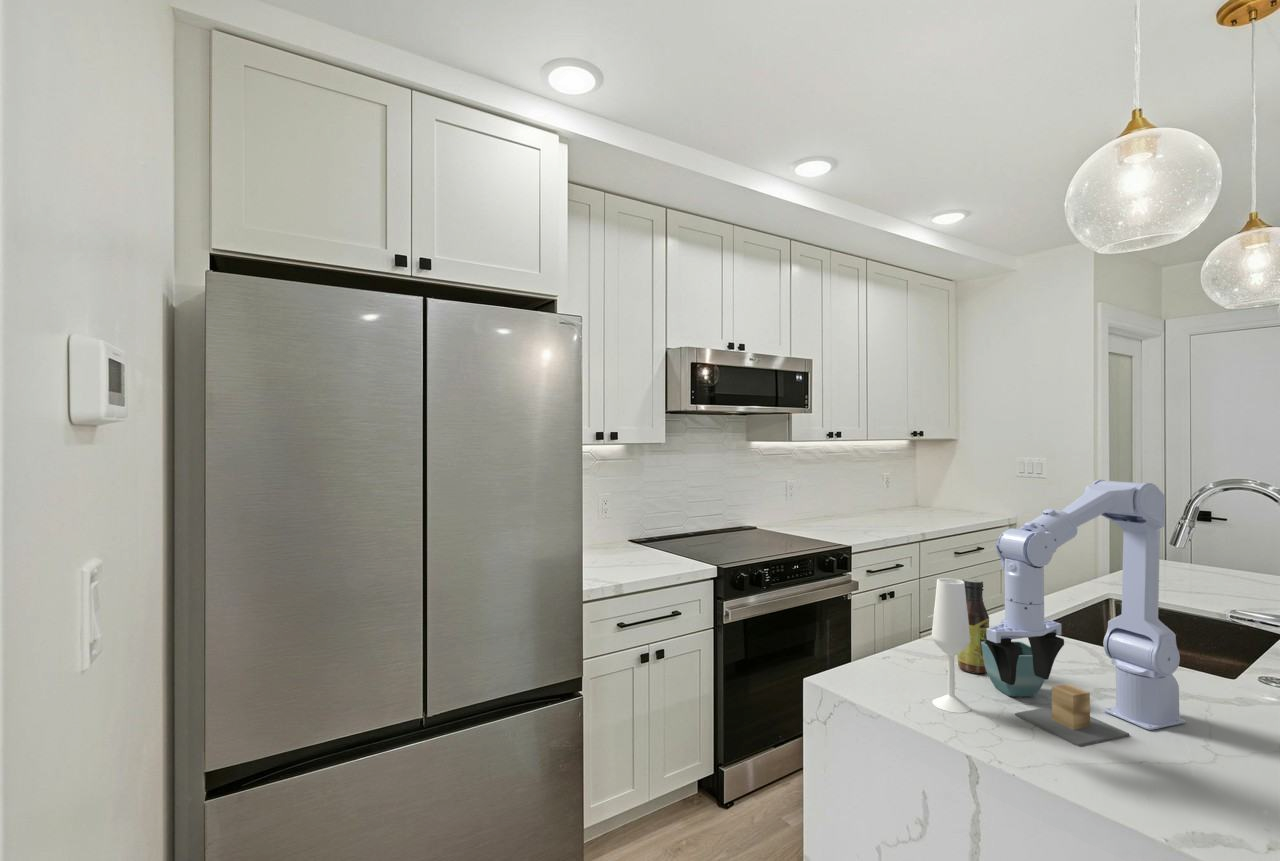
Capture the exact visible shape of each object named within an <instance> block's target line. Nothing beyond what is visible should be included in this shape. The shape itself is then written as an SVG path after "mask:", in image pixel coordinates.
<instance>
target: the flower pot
mask: <svg viewBox="0 0 1280 861" xmlns="http://www.w3.org/2000/svg"><path fill="white" fill-rule="evenodd" d="M1011 642H1013V645H1016V646H1019V647H1021V648H1022V650H1021V652H1020V655H1019V657H1018V661H1017V667H1016V680H1015V684H1014V685H1009V684H1007V683H1005V682H1003V681H1001V678H1000V675H999V671H998V668H997V664H996V661H995V659H994V657H993V654H992V652H991V651H990V649H989V647H988V646H987V644H986V642H985V641H984V642H981V644H982V652H983V659H984V665H985V669H986V674H987V676H988V677H989V679H990V681H991V683H992V684H993V686H994V687H995V688H996V689H998V690H999V691H1001V692H1002V693H1003V694H1005V695H1006V696H1008V697H1034V696H1035V695H1036V694H1037V693H1038V692H1039V691H1040V689H1041V688H1042V686H1043V684H1044V683H1045V679H1043V678H1040V677H1038V676H1035V674H1034V669H1033V656H1032V650H1031V646H1030V644H1029V645H1028V644H1026V643H1024V642H1022V641H1017V640H1015V641H1013V640H1011Z"/></svg>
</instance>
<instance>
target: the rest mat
mask: <svg viewBox="0 0 1280 861" xmlns="http://www.w3.org/2000/svg"><path fill="white" fill-rule="evenodd" d="M1014 715H1015V716H1016V717H1018V718H1020V719H1022V720H1023V721H1026V722H1029V723H1031V724H1033V725H1034V726H1037V727H1038V728H1040V729H1043V730H1044V731H1046V732H1049V733H1050V734H1053V735H1055V736H1057V737H1058V738H1061V739H1063V740H1065V741H1067V742H1069V743H1071V744H1073V745H1075V746H1077V747H1082V746H1086V745H1092V744H1096V743H1097V744H1098V743H1100V742H1101V743H1102V742H1105V741H1106V742H1107V741H1110V740H1115V739H1121V738H1124V737H1130V733H1129V732H1127V731H1125V730H1123V729H1120V728H1118V727H1115V726H1113V725H1111V724H1108V723H1106V722H1104V721H1101V720H1099V719H1098V718H1095V717H1093V716H1090V727H1085V728H1080V729H1075V730H1073V729H1071V728H1068V727H1066V726H1064V725H1062V724H1060V723H1058V722H1056V721H1054V720H1052V706H1047V707H1041V708H1036V709H1030V710H1029V709H1028V710H1024V711H1019V712H1014Z"/></svg>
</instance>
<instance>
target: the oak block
mask: <svg viewBox="0 0 1280 861" xmlns="http://www.w3.org/2000/svg"><path fill="white" fill-rule="evenodd" d="M1051 707H1052V720H1054V721H1056V722H1058V723H1060V724H1062V725H1064V726H1066V727H1068V728H1071V729H1073V730H1075V729H1080V728H1085V727H1090V717H1091V693H1090V692H1089V691H1087V690H1084V689H1081V688H1079V687H1076V686H1075V685H1072V684H1069V683H1067V684H1066V683H1065V684H1061V685H1052V686H1051Z"/></svg>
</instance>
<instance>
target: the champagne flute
mask: <svg viewBox="0 0 1280 861" xmlns="http://www.w3.org/2000/svg"><path fill="white" fill-rule="evenodd" d="M934 598H935V599H934V607H933V608H934V609H933V617H932V628H931V638H932V641H933V642H934V643H935V645H936V646H937V647H938V648H939V649H941V650H940V651H942V652H943V653H944V654H946V655H947V694H945V695H943V696H939V697H937V698H936V697H935V698H934V699H932V703H931V704H932V705H933V706H935V707H936V708H938V709H940V710H943V711H945V712H950V713H957V714H964V713H969V712H970V711H972V710H971V709H972V708H971V706H970V705H969V704H968V703H966V702H965V701H964V700H962V699H961V698H959V697H957V696H956V695H955V687H956V686H955V685H956V684H955V656H958V654H959V653H960V652H962V651H963V650H965V649H966V648H967V647H968V645H969V644H970V641H971V639H970V630H969V621H968V612H967V602H966V593H965V584H964V581H963V580H961V579H957V578H947V577H944V578H943V577H941V578H937V579H936V587H935V597H934Z"/></svg>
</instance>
